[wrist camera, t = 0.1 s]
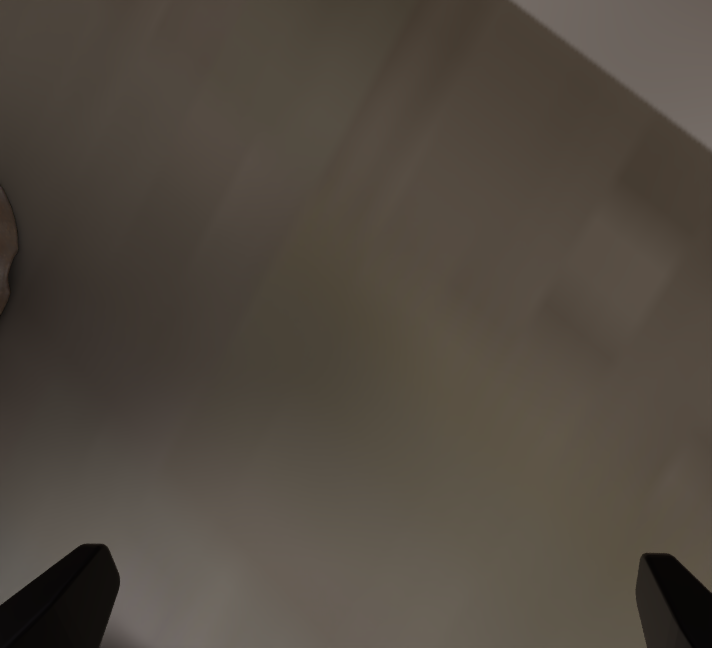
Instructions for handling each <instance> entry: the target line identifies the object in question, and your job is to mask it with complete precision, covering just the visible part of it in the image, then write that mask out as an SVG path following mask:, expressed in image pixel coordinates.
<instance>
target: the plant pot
mask: <svg viewBox="0 0 712 648" xmlns="http://www.w3.org/2000/svg"><path fill="white" fill-rule="evenodd" d="M17 252H18V235H17V228H16V223H15V218H14V215H13V211H12V208H11V205H10V203H9V201H8V199H7V196H6V194H5V192H4V190H3V188H2V187H1V185H0V315H1V313H2V311H3V309H4V307H5V305H6V303H7V301H8V298H9V296H10V293H11V291H10V287H9V282H8V274H9V270H10V266H11V263H12V261H13V258H14V256H15V255H16V253H17Z"/></svg>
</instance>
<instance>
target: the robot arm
mask: <svg viewBox="0 0 712 648" xmlns="http://www.w3.org/2000/svg"><path fill="white" fill-rule="evenodd" d="M119 586H120V576H119V572H118V570H117V568H116V565H115V563H114V560H113V558H112V556H111V553H110V551H109V549H108V547H107V546H106V545H104V544H82V545H80V546H79V547H77V548H76V549H75V550H73V551H72V552H71V553H69V554H68V555H67V556H65V557H64V558H63V559H61V560H60V561H59V562H57V563H56V564H55V565H53V566H52V567H51V568H49V569H48V570H47V571H45V572H44V573H43V574H41V575H40V576H39V577H37V578H36V579H35V580H33V581H32V582H31V583H29V584H28V585H27V586H25V587H24V588H23V589H21V590H20V591H19V592H17V593H16V594H15V595H13V596H12V597H11V598H9V599H8V600H7V601H5V602H4V603H3V604H1V605H0V648H99V647H100V644H101V641H102V638H103V635H104V632H105V629H106V626H107V623H108V620H109V617H110V614H111V611H112V608H113V605H114V602H115V600H116V597H117V594H118V590H119ZM636 601H637V607H638V611H639V615H640V619H641V623H642V628H643V632H644V636H645V640H646V645H647V648H712V593H711V592H710V591H709V590H708V589H707V588H706V587H705V586H704V585H703V584H702V583H701V582H700V581H699V580H698V579H697V578H696V577H695V576H693V575H692V574H691V573H690V572H689V571H688V570H687V569H686V568H685V567H684V566H683V565H682V564H681V563H680V562H679V561H678V560H677V559H676V558H675V557H674V556H672V555H670V554H667V553H644V554H643V555H642V556H641V558H640V563H639V570H638V577H637V583H636Z"/></svg>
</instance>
